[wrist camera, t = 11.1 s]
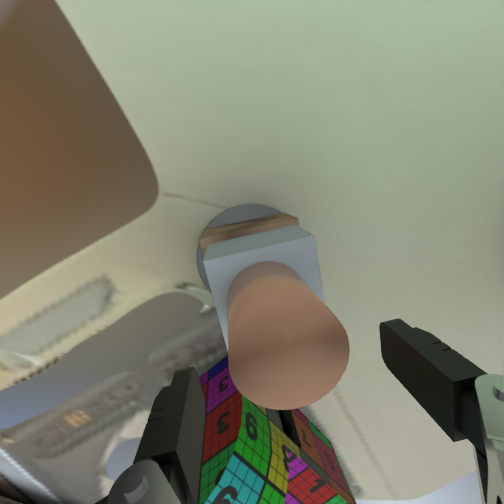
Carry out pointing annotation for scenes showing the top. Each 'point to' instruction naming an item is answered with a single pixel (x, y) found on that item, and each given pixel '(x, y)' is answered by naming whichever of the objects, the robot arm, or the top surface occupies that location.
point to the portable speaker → (8, 501)
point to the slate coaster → (230, 217)
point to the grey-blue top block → (259, 250)
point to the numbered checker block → (263, 452)
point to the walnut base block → (245, 228)
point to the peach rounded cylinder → (282, 338)
